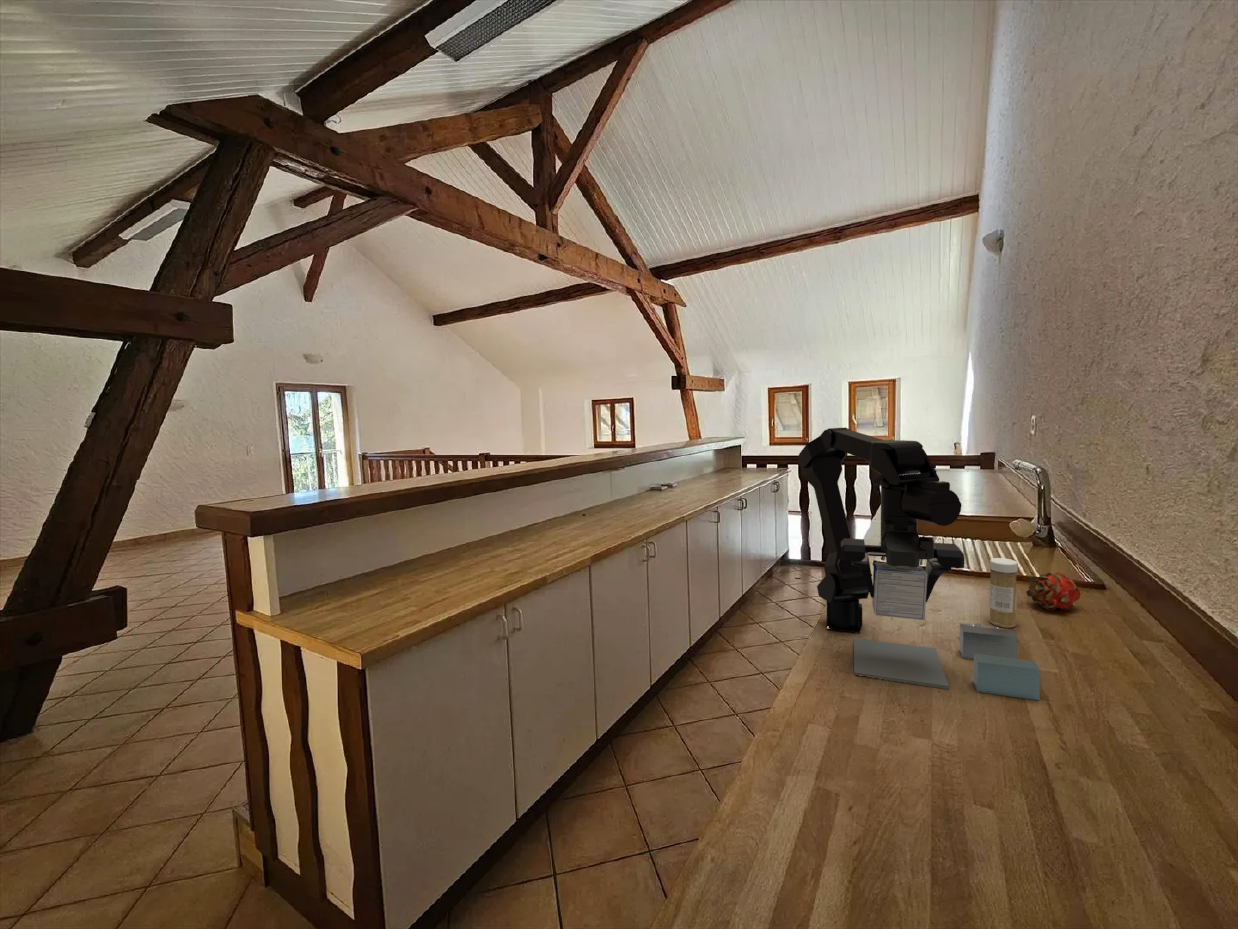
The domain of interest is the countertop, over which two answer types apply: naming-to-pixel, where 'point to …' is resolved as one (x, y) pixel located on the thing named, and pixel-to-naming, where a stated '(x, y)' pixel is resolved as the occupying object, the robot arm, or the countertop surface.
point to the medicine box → (899, 591)
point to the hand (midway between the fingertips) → (898, 599)
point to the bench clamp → (998, 662)
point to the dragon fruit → (1053, 591)
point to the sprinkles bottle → (1003, 592)
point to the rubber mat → (899, 663)
